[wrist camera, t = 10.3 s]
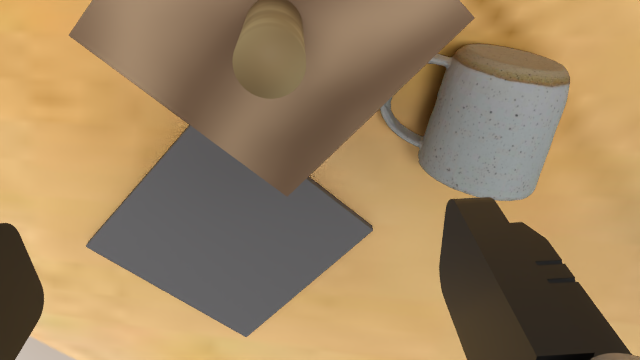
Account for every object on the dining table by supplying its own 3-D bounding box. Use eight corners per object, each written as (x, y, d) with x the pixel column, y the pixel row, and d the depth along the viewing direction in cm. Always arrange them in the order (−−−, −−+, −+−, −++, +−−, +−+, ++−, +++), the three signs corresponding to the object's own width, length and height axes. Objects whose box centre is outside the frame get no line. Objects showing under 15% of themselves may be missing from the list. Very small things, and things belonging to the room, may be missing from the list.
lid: (467, 12, 25) (525, 52, 19) (287, 186, 30) (286, 263, 24) (255, -231, 20) (239, -288, 13) (77, 29, 24) (5, 76, 18)
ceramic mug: (545, 45, 32) (609, 85, 26) (505, 154, 36) (551, 212, 30) (390, 25, 31) (414, 60, 25) (367, 139, 35) (382, 195, 29)
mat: (372, 225, 39) (373, 230, 39) (246, 332, 45) (246, 337, 44) (210, 100, 33) (209, 104, 32) (88, 241, 38) (85, 246, 38)
